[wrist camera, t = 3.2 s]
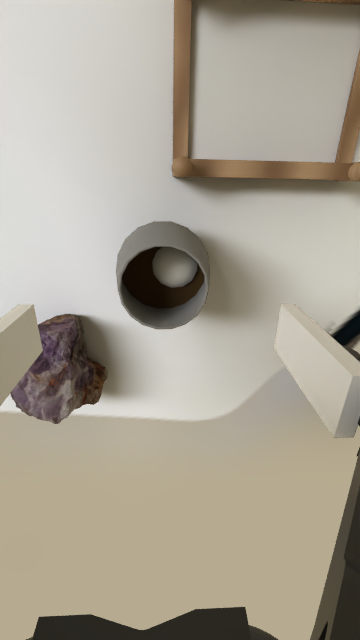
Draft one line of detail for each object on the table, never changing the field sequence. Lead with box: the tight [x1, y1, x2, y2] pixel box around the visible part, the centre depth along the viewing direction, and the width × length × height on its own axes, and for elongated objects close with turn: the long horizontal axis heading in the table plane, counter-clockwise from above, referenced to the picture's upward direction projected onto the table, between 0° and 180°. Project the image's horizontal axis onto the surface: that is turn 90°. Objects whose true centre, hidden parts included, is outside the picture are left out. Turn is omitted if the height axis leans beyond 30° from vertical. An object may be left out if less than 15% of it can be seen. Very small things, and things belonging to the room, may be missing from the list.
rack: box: [172, 0, 360, 181], centre depth 25 cm, size 18×15×5 cm
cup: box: [116, 222, 210, 329], centre depth 29 cm, size 10×9×10 cm
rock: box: [11, 314, 107, 424], centre depth 34 cm, size 12×9×10 cm
